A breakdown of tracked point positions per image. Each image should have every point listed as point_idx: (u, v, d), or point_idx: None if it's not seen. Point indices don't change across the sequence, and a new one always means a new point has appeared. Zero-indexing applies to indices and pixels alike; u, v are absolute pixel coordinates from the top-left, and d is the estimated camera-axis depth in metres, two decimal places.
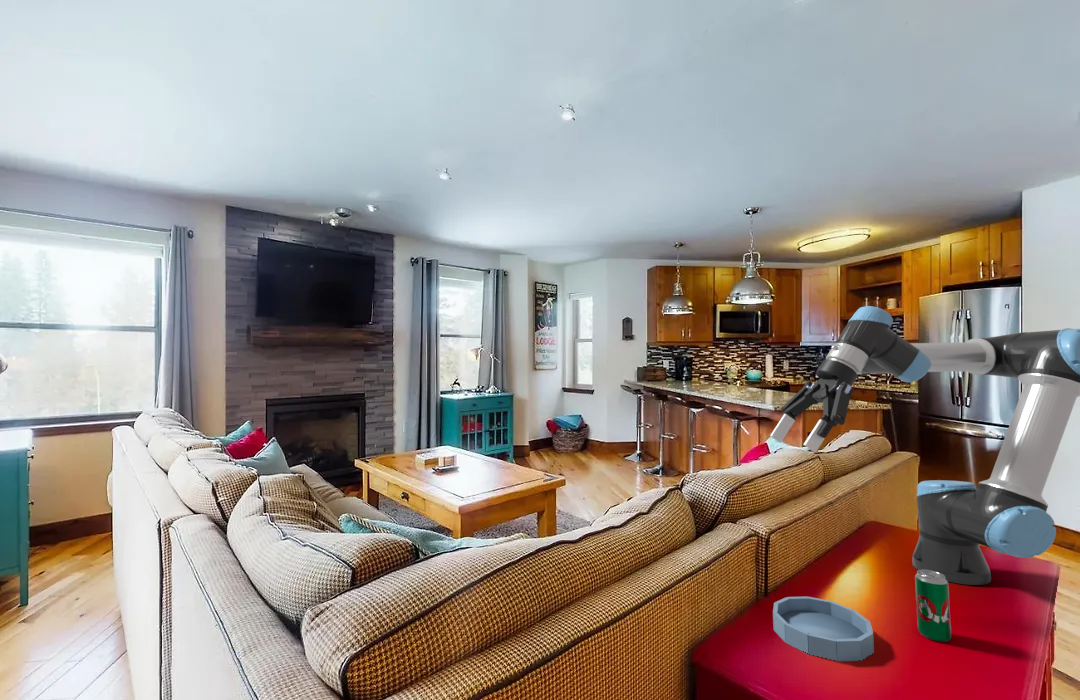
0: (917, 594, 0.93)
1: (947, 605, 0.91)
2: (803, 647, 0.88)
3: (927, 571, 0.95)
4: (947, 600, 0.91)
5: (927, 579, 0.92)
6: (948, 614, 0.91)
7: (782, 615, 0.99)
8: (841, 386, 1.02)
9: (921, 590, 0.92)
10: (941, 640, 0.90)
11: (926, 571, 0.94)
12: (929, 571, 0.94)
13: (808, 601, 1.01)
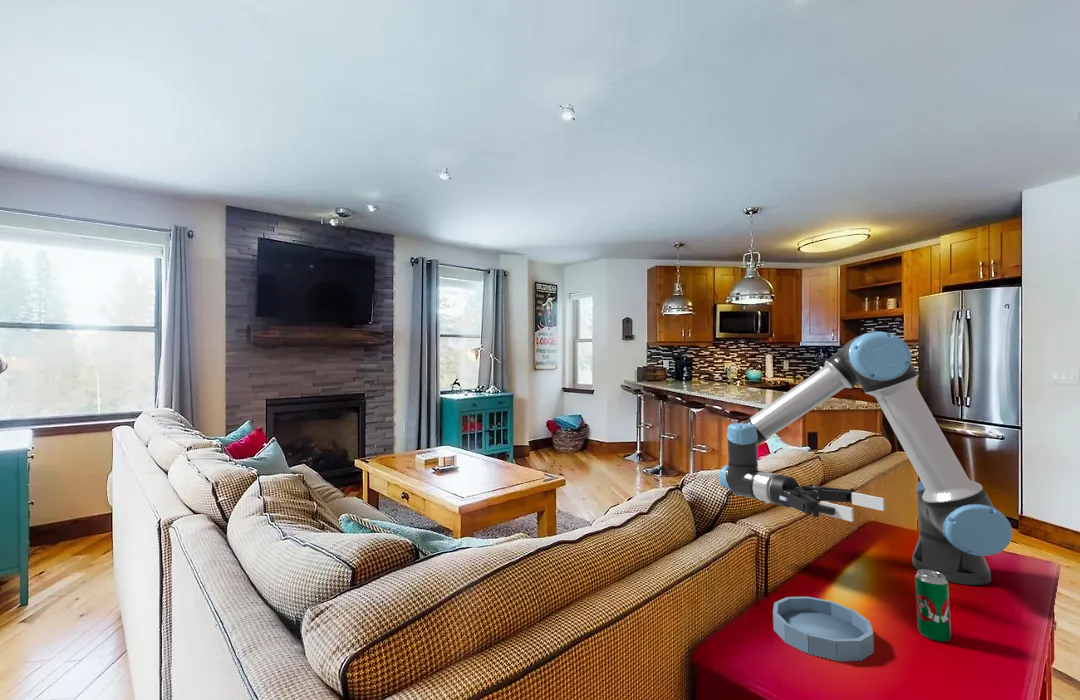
0: (917, 594, 0.93)
1: (947, 605, 0.91)
2: (803, 647, 0.88)
3: (927, 571, 0.95)
4: (947, 600, 0.91)
5: (927, 579, 0.92)
6: (948, 614, 0.91)
7: (782, 615, 0.99)
8: None
9: (921, 590, 0.92)
10: (941, 640, 0.90)
11: (926, 571, 0.94)
12: (929, 571, 0.94)
13: (808, 601, 1.01)
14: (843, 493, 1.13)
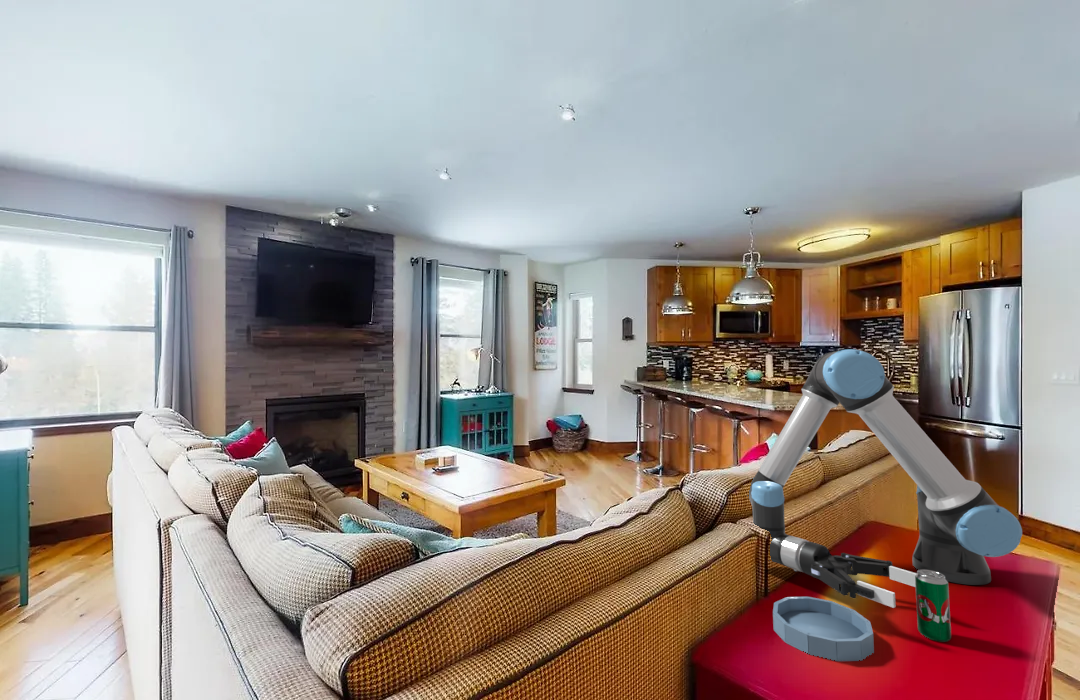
0: (917, 594, 0.93)
1: (947, 605, 0.91)
2: (803, 647, 0.88)
3: (927, 571, 0.95)
4: (947, 600, 0.91)
5: (927, 579, 0.92)
6: (948, 614, 0.91)
7: (782, 615, 0.99)
8: None
9: (921, 590, 0.92)
10: (941, 640, 0.90)
11: (926, 571, 0.94)
12: (929, 571, 0.94)
13: (808, 601, 1.01)
14: (880, 566, 1.06)
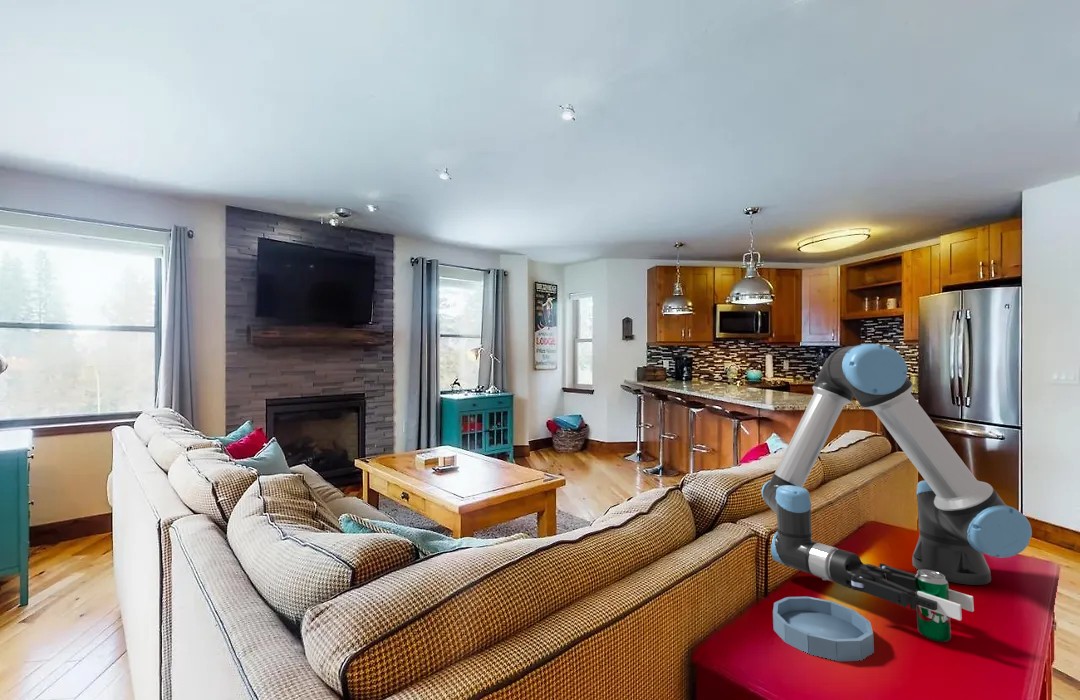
0: None
1: None
2: (803, 647, 0.88)
3: (927, 571, 0.94)
4: None
5: (927, 579, 0.92)
6: None
7: (782, 615, 0.99)
8: None
9: (921, 590, 0.92)
10: (941, 640, 0.90)
11: (926, 571, 0.94)
12: (929, 571, 0.94)
13: (808, 601, 1.01)
14: None
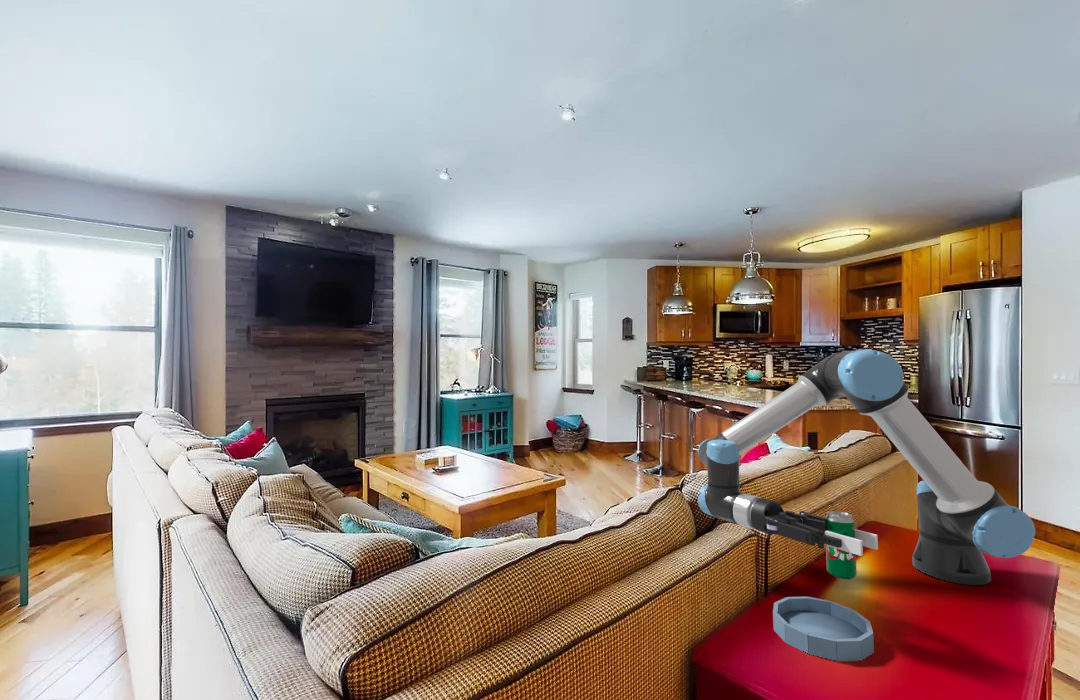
0: None
1: None
2: (803, 647, 0.88)
3: (837, 512, 0.96)
4: None
5: (834, 518, 0.94)
6: None
7: (782, 615, 0.99)
8: None
9: (829, 529, 0.94)
10: (846, 577, 0.92)
11: (836, 512, 0.96)
12: (839, 512, 0.96)
13: (808, 601, 1.01)
14: None
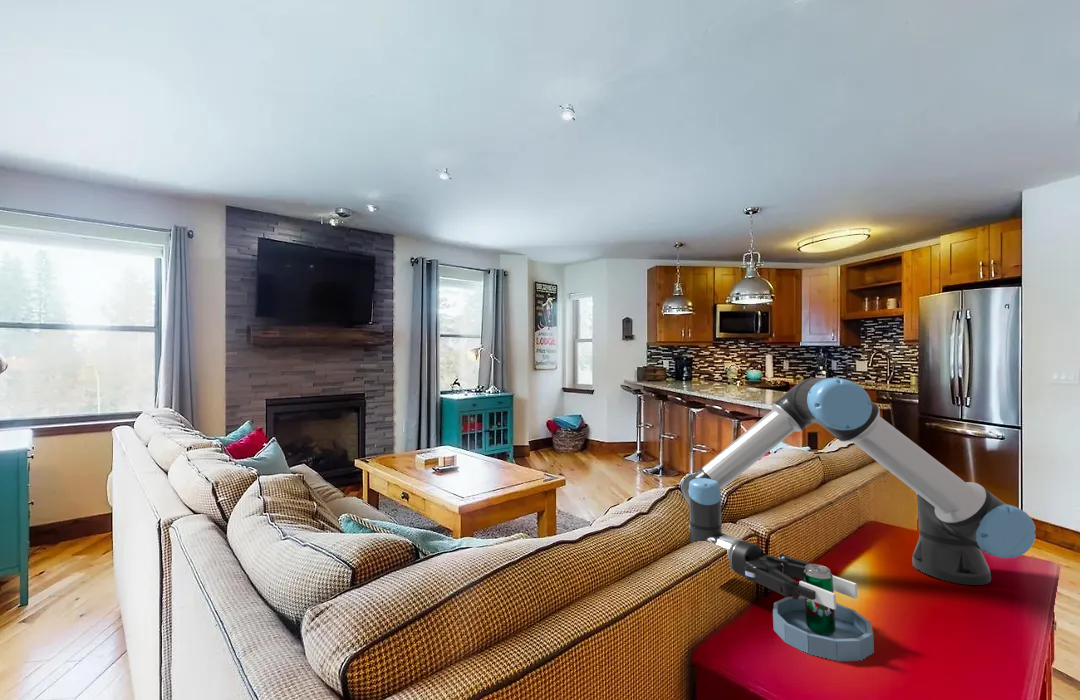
0: None
1: None
2: (803, 647, 0.88)
3: (815, 565, 0.96)
4: None
5: (812, 573, 0.93)
6: None
7: (782, 615, 0.99)
8: None
9: None
10: (824, 633, 0.91)
11: (814, 565, 0.96)
12: (817, 565, 0.95)
13: None
14: None
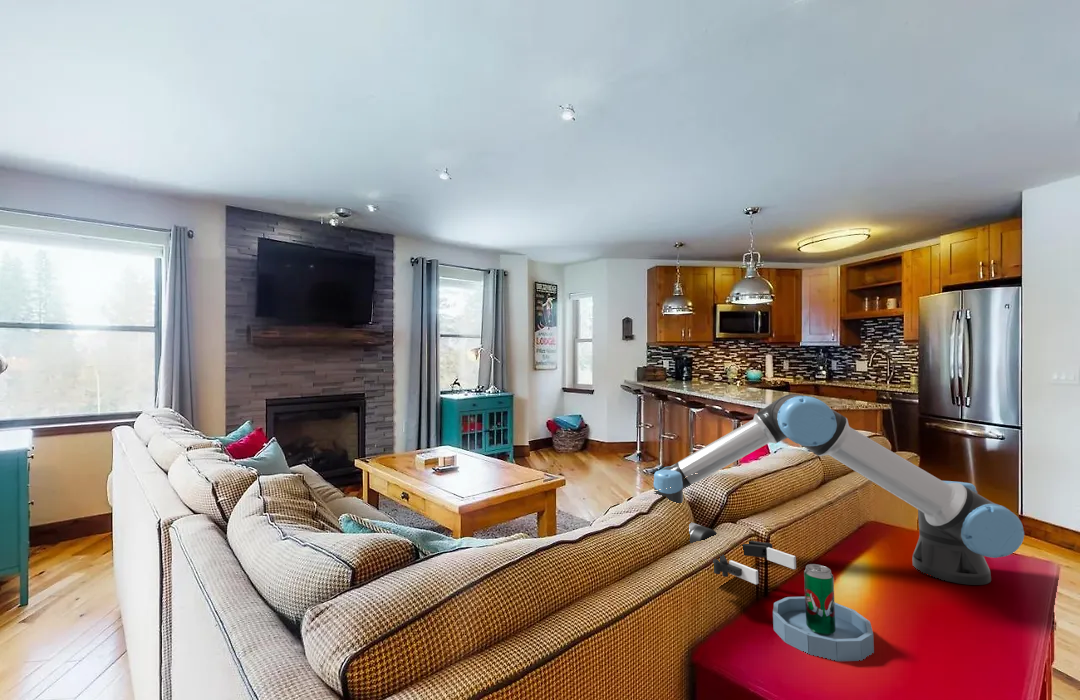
0: (805, 588, 0.95)
1: (831, 599, 0.92)
2: (803, 647, 0.88)
3: (816, 566, 0.96)
4: (831, 594, 0.92)
5: (813, 573, 0.93)
6: (832, 608, 0.92)
7: (782, 615, 0.99)
8: None
9: (808, 584, 0.94)
10: (824, 633, 0.91)
11: (815, 566, 0.96)
12: (818, 566, 0.96)
13: None
14: (759, 548, 1.12)
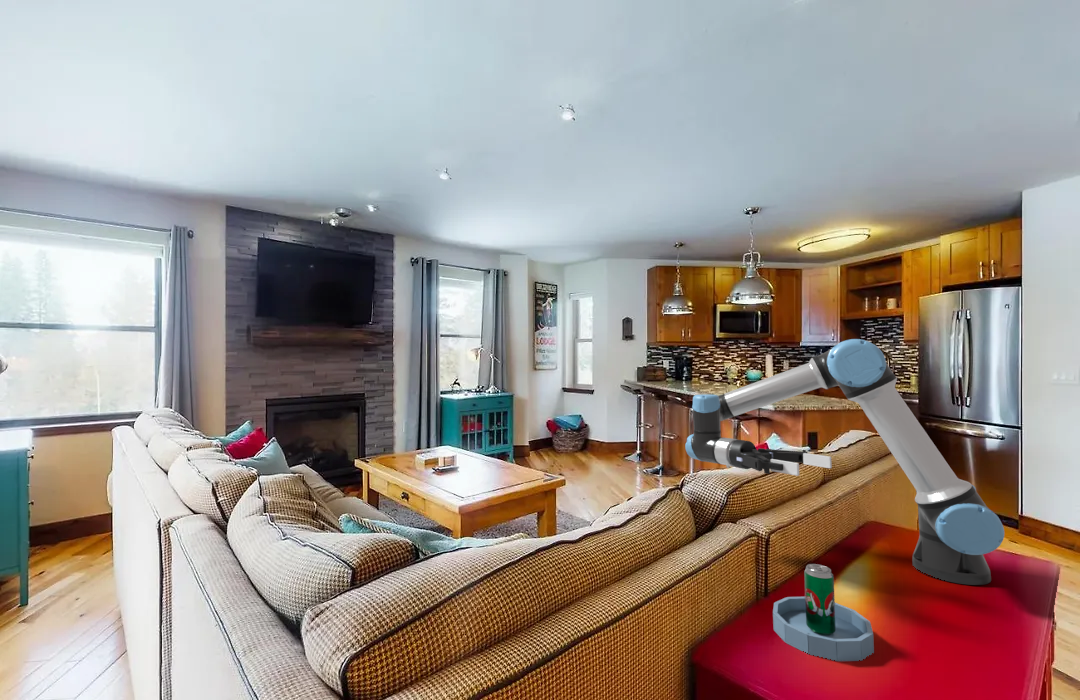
0: (805, 588, 0.95)
1: (831, 599, 0.92)
2: (803, 647, 0.88)
3: (816, 565, 0.96)
4: (831, 594, 0.92)
5: (813, 573, 0.93)
6: (832, 608, 0.92)
7: (782, 615, 0.99)
8: (741, 463, 1.20)
9: (808, 584, 0.94)
10: (824, 633, 0.91)
11: (815, 565, 0.96)
12: (818, 565, 0.96)
13: None
14: (796, 454, 1.21)
